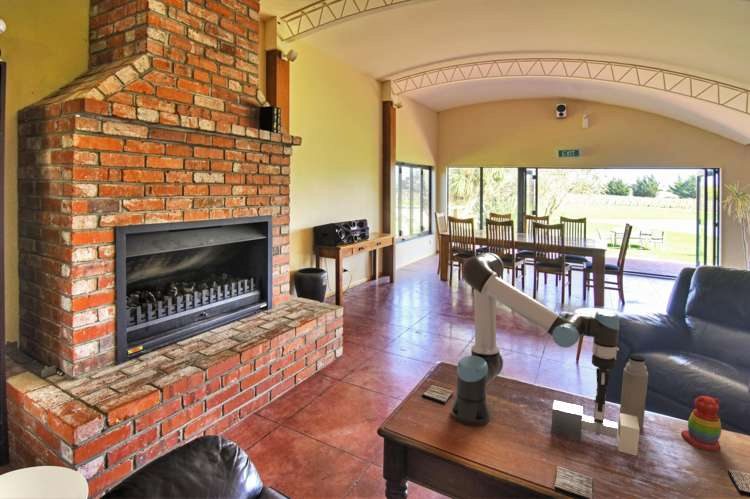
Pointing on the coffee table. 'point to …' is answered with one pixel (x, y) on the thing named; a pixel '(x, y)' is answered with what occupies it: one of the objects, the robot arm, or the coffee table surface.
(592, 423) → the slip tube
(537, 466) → the coffee table surface
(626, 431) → the socket block
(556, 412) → the grey block
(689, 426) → the stacking bear
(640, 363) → the thermos bottle
